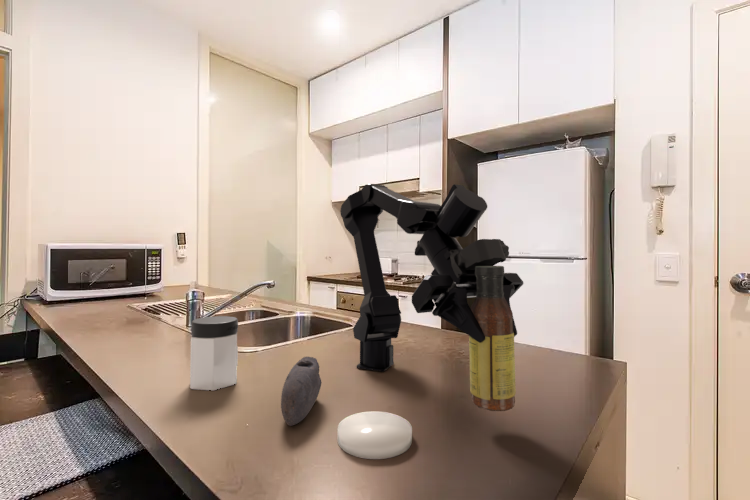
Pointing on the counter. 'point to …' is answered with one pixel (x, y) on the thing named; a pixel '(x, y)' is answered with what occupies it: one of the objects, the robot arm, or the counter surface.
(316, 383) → the perforated stone tool
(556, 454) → the counter surface
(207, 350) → the jar
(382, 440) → the coaster
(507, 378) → the sauce bottle
